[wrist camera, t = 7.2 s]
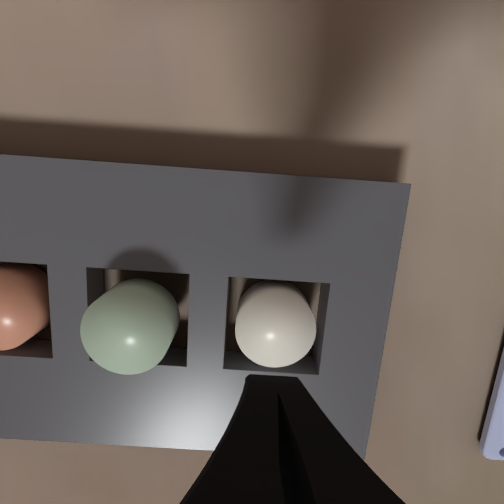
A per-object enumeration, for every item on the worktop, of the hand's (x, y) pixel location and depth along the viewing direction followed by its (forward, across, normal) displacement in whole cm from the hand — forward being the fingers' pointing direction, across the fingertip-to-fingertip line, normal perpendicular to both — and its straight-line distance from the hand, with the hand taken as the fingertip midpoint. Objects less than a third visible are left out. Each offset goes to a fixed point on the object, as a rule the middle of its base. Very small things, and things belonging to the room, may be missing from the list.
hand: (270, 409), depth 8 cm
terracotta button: (+6, +11, 0) cm, 12 cm away
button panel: (+6, +5, 0) cm, 8 cm away
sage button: (+5, +5, 0) cm, 7 cm away
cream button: (+6, -1, 0) cm, 6 cm away
